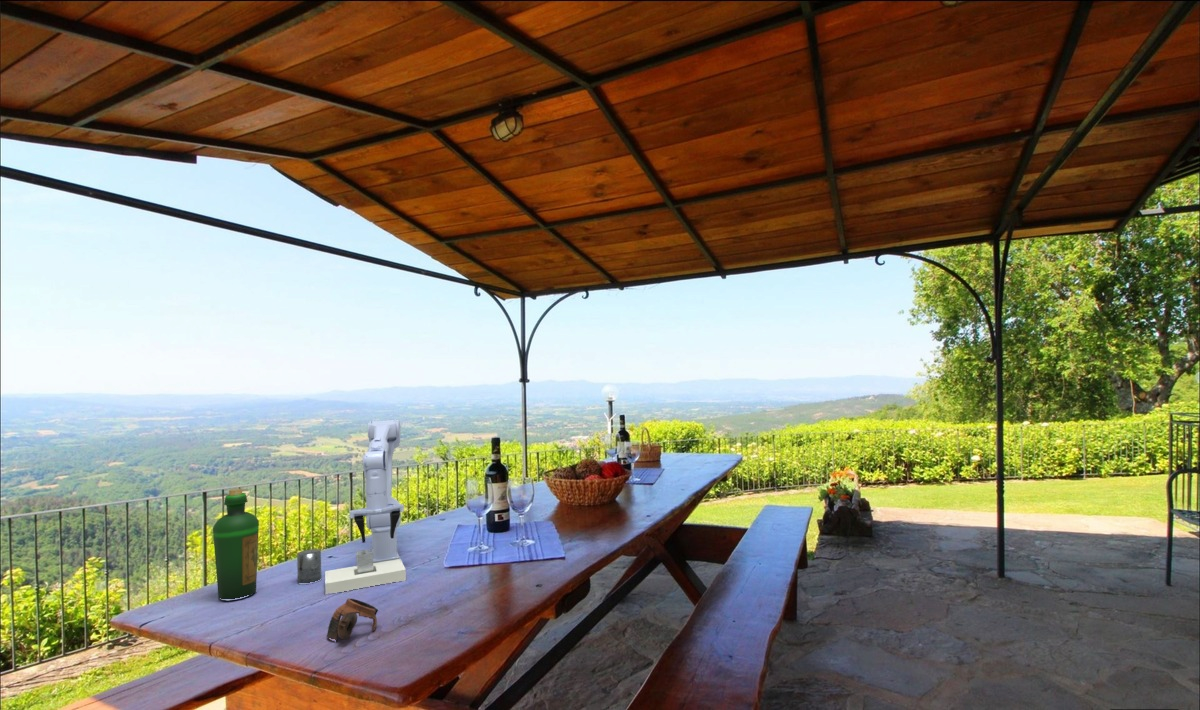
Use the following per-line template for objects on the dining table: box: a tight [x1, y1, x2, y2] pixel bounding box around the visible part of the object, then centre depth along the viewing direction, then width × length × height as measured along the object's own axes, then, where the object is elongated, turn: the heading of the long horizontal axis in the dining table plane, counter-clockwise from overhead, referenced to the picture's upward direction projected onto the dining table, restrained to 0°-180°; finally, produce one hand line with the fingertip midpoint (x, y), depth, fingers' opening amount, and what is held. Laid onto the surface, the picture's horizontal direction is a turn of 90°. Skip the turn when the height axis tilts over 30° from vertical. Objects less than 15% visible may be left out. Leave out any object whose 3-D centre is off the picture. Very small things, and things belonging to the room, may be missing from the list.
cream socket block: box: [324, 558, 407, 595], centre depth 161 cm, size 12×20×3 cm, turn 115°
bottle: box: [212, 487, 260, 599], centre depth 154 cm, size 11×11×28 cm
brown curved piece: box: [326, 598, 379, 640], centre depth 125 cm, size 12×10×8 cm
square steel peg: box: [356, 548, 373, 575], centre depth 161 cm, size 4×4×8 cm
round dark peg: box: [296, 548, 322, 584], centre depth 164 cm, size 6×6×8 cm
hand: (378, 539), depth 168 cm, fingers open, 7 cm apart
